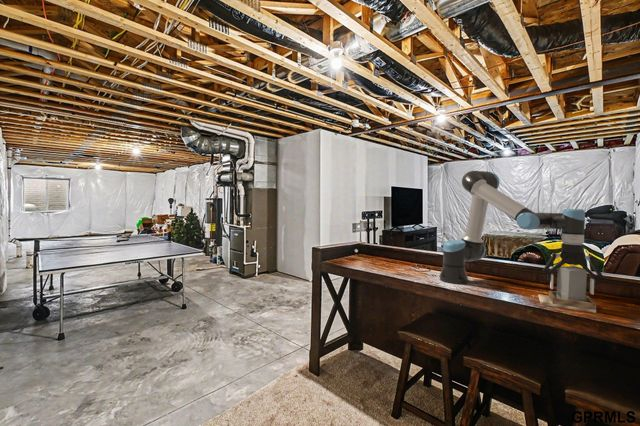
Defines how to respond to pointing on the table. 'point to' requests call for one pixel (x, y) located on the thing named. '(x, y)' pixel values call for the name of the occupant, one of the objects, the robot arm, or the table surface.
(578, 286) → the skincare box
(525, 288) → the table surface
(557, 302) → the socket board
